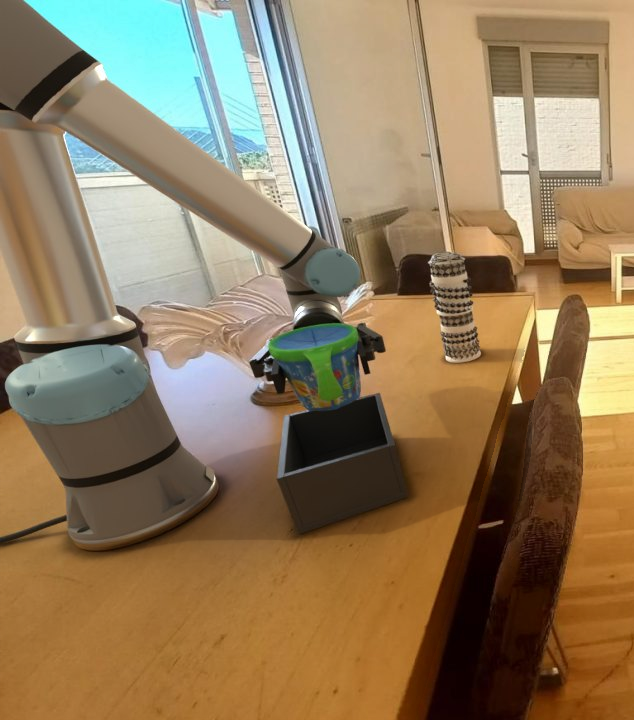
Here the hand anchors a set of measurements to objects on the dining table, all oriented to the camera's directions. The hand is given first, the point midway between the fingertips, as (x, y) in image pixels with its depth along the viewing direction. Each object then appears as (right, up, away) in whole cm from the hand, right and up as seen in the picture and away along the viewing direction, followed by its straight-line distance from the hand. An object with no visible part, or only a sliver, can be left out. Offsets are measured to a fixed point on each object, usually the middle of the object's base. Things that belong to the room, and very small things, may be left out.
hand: (323, 374), depth 63 cm
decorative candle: (+1, +3, +54) cm, 54 cm away
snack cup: (-2, -4, +6) cm, 8 cm away
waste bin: (-2, -16, +10) cm, 19 cm away
